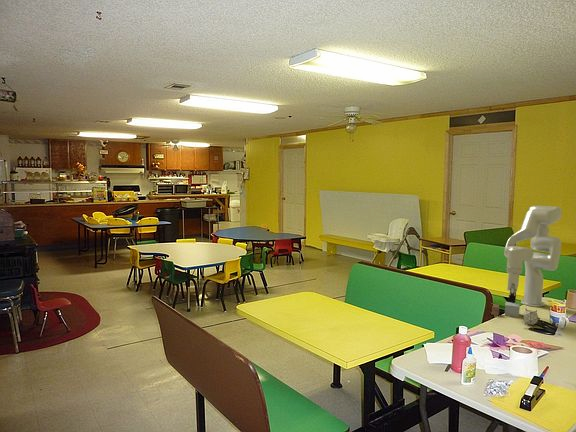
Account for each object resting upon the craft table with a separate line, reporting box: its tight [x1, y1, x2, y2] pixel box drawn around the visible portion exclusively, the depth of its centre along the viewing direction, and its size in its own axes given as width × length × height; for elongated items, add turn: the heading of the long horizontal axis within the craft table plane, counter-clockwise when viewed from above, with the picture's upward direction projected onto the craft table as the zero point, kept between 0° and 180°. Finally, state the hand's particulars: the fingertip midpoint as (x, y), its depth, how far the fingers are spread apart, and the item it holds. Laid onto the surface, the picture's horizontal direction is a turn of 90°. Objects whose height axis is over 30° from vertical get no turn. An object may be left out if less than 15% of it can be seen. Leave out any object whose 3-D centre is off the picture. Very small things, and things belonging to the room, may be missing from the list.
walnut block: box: [491, 303, 500, 317], centre depth 237 cm, size 5×5×5 cm
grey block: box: [504, 301, 521, 318], centre depth 236 cm, size 7×7×6 cm
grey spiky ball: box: [521, 308, 541, 326], centre depth 219 cm, size 9×8×10 cm
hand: (512, 300), depth 235 cm, fingers open, 9 cm apart
